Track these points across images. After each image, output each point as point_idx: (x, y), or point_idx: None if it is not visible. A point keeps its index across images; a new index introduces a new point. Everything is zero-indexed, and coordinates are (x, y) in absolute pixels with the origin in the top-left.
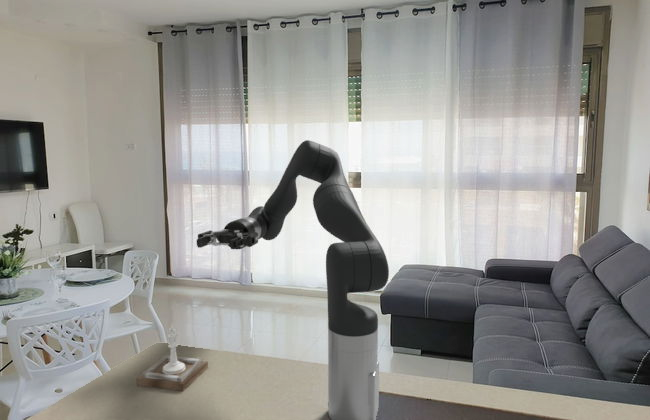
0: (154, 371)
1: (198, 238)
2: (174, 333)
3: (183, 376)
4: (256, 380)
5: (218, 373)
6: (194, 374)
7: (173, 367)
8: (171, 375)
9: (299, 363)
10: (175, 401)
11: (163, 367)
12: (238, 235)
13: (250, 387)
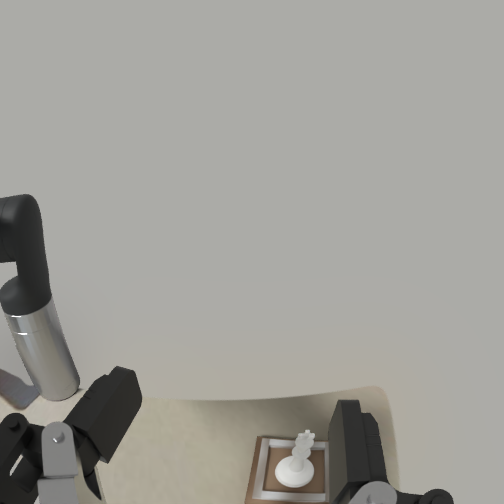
0: (323, 462)
1: (356, 403)
2: (301, 441)
3: (262, 443)
4: (150, 465)
5: (218, 489)
6: (252, 463)
7: (291, 460)
8: (282, 444)
9: None
10: (256, 421)
11: (310, 463)
12: (69, 475)
13: (158, 449)
